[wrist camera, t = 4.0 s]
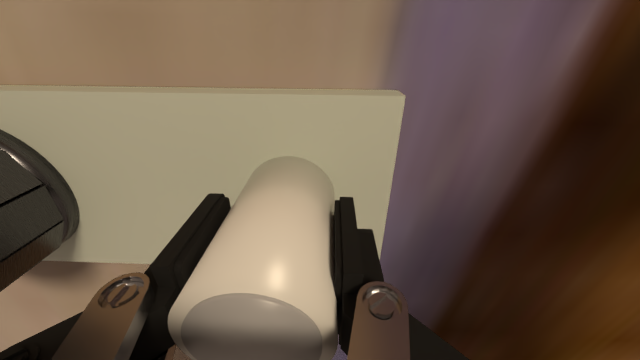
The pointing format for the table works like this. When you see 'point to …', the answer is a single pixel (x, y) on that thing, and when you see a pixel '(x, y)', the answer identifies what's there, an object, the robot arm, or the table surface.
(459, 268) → the table surface
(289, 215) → the cylinder
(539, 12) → the table surface
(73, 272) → the table surface
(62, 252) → the board
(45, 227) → the black faceted cup
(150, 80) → the table surface
